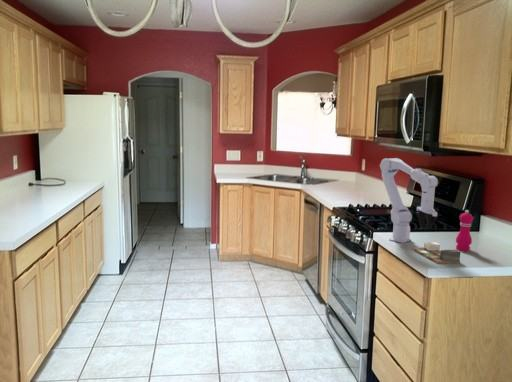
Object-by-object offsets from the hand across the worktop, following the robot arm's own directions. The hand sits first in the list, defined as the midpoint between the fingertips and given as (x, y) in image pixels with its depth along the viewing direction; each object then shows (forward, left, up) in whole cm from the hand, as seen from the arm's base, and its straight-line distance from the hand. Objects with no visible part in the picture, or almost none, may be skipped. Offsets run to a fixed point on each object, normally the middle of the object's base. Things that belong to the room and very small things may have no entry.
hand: (425, 227), depth 220 cm
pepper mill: (-13, +15, -11) cm, 22 cm away
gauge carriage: (+6, +4, -9) cm, 11 cm away
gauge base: (+9, +9, -10) cm, 16 cm away
